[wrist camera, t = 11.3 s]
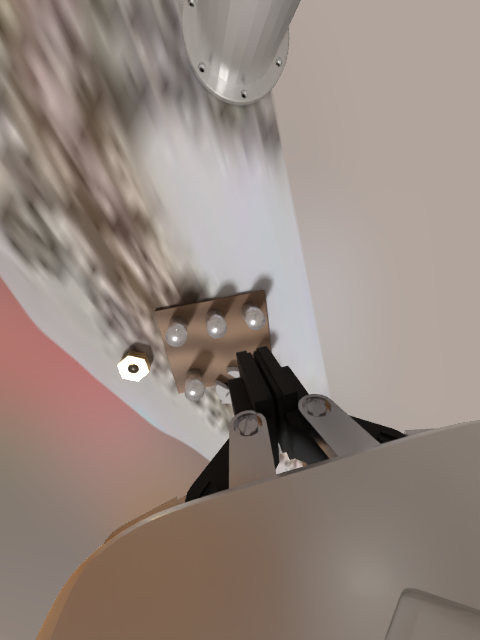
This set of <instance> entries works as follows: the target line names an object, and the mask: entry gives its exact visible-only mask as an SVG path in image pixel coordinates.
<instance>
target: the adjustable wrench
mask: <svg viewBox="0 0 480 640" xmlns="http://www.w3.org/2000/svg"><path fill="white" fill-rule="evenodd" d="M226 370H227V373H228V374H230V375H231V376H233V377H235V378H238V377H240V375H239V369H238V367H228V368H227V369H226ZM215 387H216V392H217V395H218V397H219V398H220V400H221V403H224V404H226V403H230V404H232V402H231V397H230V392H229V387H228V388H227V385H225V384H224V383H222V382H220V381H218V380H216V381H215ZM278 445H279V443H278ZM281 453H282V451H281V448H280V446H279V454H281Z"/></svg>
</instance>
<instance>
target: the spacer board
mask: <svg viewBox="0 0 480 640" xmlns="http://www.w3.org/2000/svg"><path fill="white" fill-rule="evenodd" d="M248 302H251V303H254V304H255V305H256V306H257V307H258V308H259V309H260V310H261V311H262V312H263V314H264V315H265V316H266V323H265V325H264V327H263V328H261V329H259V330H252V329H250V328H249V327H248V325H247V323H246V322H245V320H244V318H243V317H242V315H241V308H242V306H243V305H244V304H245V303H248ZM213 309H217V310H219V311H221V312H222V314H223V316H224V319H225V322H226V325H227V332H226V334H225V335H224V336H223V337H221V338H213V337H211V336H210V335H209V334H208V332H207V327H206V320H205V316H206V314H207V312H208V311H210V310H213ZM155 315H156V318H157V322H158V325H159V328H160V332H161V335H162V339H163V342H164V345H165V349H166V352H167V356H168V359H169V362H170V366H171V369H172V372H173V376H174V379H175V383H176V386H177V389H178V393H183V392H185V381H186V373H187V371H188V370H190V369H192V368H197V369H200V370H201V371H202V373H203V385H204V388H205V387H209V386H213V385H215V381H216V380H218V381H220V382H222V383H226V382H227V380H230V379H234V378H235V377H233V376H231V375H230V374H228V373H227V370H226V369H227V368H228V367H238V363H237V358H236V352H241V351H245V350H246V351H247V353H249V352H251V354H252V355H253V351H256V348H259V347H264V346H267V347H268V348H269V350H270V351H271V347H270V338H269V329H268V320H267V310H266V301H265V292H264V290H261V291H255V292H250V293H245V294H240V295H234V296H229V297H224V298H219V299H213V300H208V301H203V302H198V303H192V304H187V305H182V306H177V307H171V308H166V309H161V310H156V311H155ZM177 316H179V317H183V318H184V319H185V320H186V321H187V324H188V328H187V340H186V342H185V343H184V344H183V345H182V346H179V347H173V346H171V345H169V344H168V343H167V342H166V339H165V335H166V332H167V328H168V325H169V321H170V320H171V319H172V318H174V317H177Z"/></svg>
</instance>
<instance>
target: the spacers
mask: <svg viewBox="0 0 480 640" xmlns="http://www.w3.org/2000/svg"><path fill="white" fill-rule="evenodd" d="M241 315H242V317H243V318H244V320H245V322H246V323H247V325H248V327H249V328H250V329H252V330H259V329H261V328H263V327H264V325H265V323H266V316H265V315H264V314H263V312H262V311H261V310H260V309H259V308H258V307H257V306H256V305H255V304H254V303H251V302H248V303H245V304H244V305H243V306H242V308H241ZM205 320H206V327H207V332H208V334H209V335H210V336H211V337H213V338H221V337H223V336H224V335H225V334H226V332H227V325H226V322H225V319H224V316H223V314H222V312H221V311H219V310H217V309H213V310H210V311H208V312H207V314H206V316H205ZM187 328H188V324H187V321H186V320H185V319H184V318H183V317H179V316H177V317H174V318H172V319H171V320H170V321H169V325H168V328H167V332H166V335H165V339H166V342H167V343H168V344H169V345H171V346H173V347H179V346H182V345H183V344H184V343H185V342H186V340H187ZM252 356H253V358H254V355H252ZM203 395H204V385H203V373H202V371H201V370H200V369H197V368H192V369H190V370H188V371H187V373H186V381H185V396H186V398H187V399H189V400H192V401H196V400H199V399H200V398H202V396H203Z"/></svg>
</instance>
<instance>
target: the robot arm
mask: <svg viewBox="0 0 480 640" xmlns="http://www.w3.org/2000/svg"><path fill="white" fill-rule="evenodd" d="M299 2H300V0H184V4H183V13H182V29H183V39H184V45H185V50H186V53H187V56H188V60H189V63H190V65H191V67H192V69H193V71H194V73H195V75H196V76H197V78H198V79H199V81H200V82H201V84H202V85H203V86H204V87H205V88H206V89H207V90H208V91H209V92H210V93H211V94H212V95H214V96H215V97H216V98H218V99H219V100H221V101H223V102H226V103H228V104H232V105H237V106H238V105H249V104H252V103H255V102H257V101H259V100H261V99H262V98H264V97H265V96H266V95H267V94H268V93H269V92H270V91H271V90H272V88H273V87H274V85H275V84H276V83H277V81H278V79H279V77H280V75H281V73H282V71H283V69H284V66H285V63H286V58H287V54H288V46H289V24H290V22H291V20H292V18H293V16H294V13H295V11H296V9H297V7H298V5H299ZM191 6H193V7H191ZM277 65H278V66H277ZM200 70H203V71H204V72H200ZM242 95H243V96H244V97H245V98H243V97H242ZM253 355H254V358H253V356H252V354H251V352H249V353H247V351H246V350H245V351H241V352H236V358H237V363H238V369H239V375H240V377H238V378H234V379H230V380H227V382H228V387H229V392H230V397H231V402H232V406H233V411H234V415H235V416H234V417H233V418H232V420H231V422H230V426H229V439H228V440H227V441H226V443H225V444H224V445H223V446H222V448H221V449H220V450H219V452H218V453H217V454H216V455H215V457H214V458H213V459H212V460H211V462H210V463H209V464H208V466H207V467H206V468H205V469H204V471H203V472H202V473H201V474H200V476H199V477H198V478H197V479H196V481H195V482H194V483H193V485H192V486H191V487H190V489H189V491H188V493H187V495H186V496H184V497H182V498H180V499H178V497H175V498H173V499H171V500H169V501H167V502H165V503H164V504H162V505H160V506H158V507H156V508H154V509H152V510H150V511H149V512H147V513H145V514H143V515H141V516H139V517H137V518H135V519H134V520H132V521H130V522H128V523H126V524H124V525H122V526H121V527H119V528H118V529H116V530H115V531H114V532H112V533H111V535H110V536H109V537H108V538H107V539H106V540H105V542H104V544H103V545H102V546H101V547H100V548H98V549H97V550H96V551H95V552H94V553H92V554H91V555H90V556H89V557H88V558H87V559H86V560H85V561H84V562H83V563H82V564H81V565H80V566H79V567H78V568H77V569H76V570H75V572H74V573H73V574H72V575H71V576H70V578H69V579H68V581H67V582H66V584H65V585H64V586H63V588H62V589H61V591H60V593H59V594H58V596H57V598H56V600H55V601H54V603H53V605H52V607H51V609H50V611H49V613H48V614H47V616H46V619H45V621H44V623H43V625H42V627H41V629H40V631H39V633H38V635H37V637H36V640H480V420H478V421H470V422H463V423H459V424H454V425H450V426H445V427H441V428H437V429H420V430H405V431H404V434H403V433H401V432H399V431H397V430H395V429H392V428H389V427H385V426H382V425H379V424H375V423H372V422H369V421H365V420H362V419H359V418H356V417H352V416H349V415H348V414H347V413H345V412H344V411H343V410H342V409H341V408H340V407H339V406H338V405H336V404H335V403H334V402H333V401H332V400H331V399H329V398H328V397H326V396H323V395H319V394H310V395H309V394H308V392H307V391H306V390H305V388H304V387H303V386H302V384H301V383H300V381H299V380H298V379H297V377H296V376H295V375H294V373H293V372H292V370H291V369H290V368H289V367H288V366H285V367H281V366H280V365H279V363H278V362H277V360H276V359H275V357H274V356H273V354H272V353H271V351H270V350H269V348H268V347H267V346H264V347H259V348H256V351H253ZM278 443H279V445H278ZM279 446H280V448H281V451H282V452H283V453H284V452H287V454H288V457H289V459H290V460H291V459H295V458H296V459H298V460H300V461H302V465H303V467H300V468H297V469H293V470H290V471H287V472H283V473H280V474H277V475H276V468H277V466H278V464H279Z"/></svg>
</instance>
